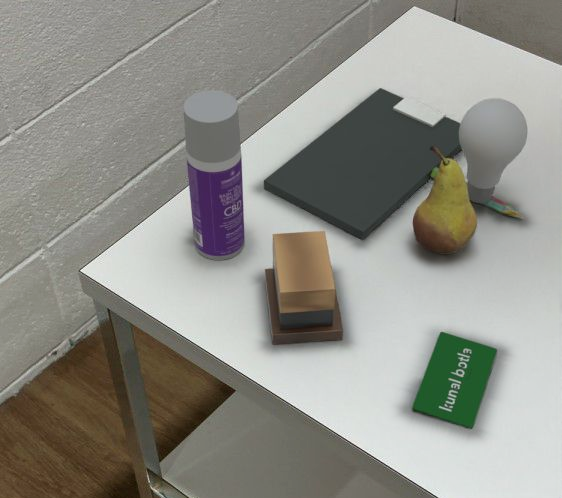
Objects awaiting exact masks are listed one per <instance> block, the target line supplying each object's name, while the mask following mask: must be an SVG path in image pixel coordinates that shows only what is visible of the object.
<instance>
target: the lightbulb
mask: <svg viewBox="0 0 562 498" xmlns="http://www.w3.org/2000/svg"><path fill="white" fill-rule="evenodd" d="M459 123H460V128H459V142H460V145H461V148H462V149H461V151H462V153H463V155H464V157H465V160H466V163H467V164H466V167H467V168H466V169H467V170H466V179H467V183H468V185H467V190H468V196H469V201H470V202H473V203H476V204H482V203H486V202H488V201H490V200H491V198H492V196H494V193H495V191H496V187H497V185H498V184H499V183H500V181H501V177H502V174H503V173H504V171H505V169H506V168H507V166H509V164H511V163H512V162H513V161H514V160H515V159H516V158H517V157H518V156H519V155H520V154H521V153H522V151H523V149H524V147H525V145H526V144H527V140H528V131H529V128H528V124H527V120H526V117H525V115H524V114H523V112H522V110H521V109H520V108H519V107H518V105H516V104H515V103H513V102H511V101H509V100H507V99H503V98H499V97H493V98H486V99H482V100H480V101H479V102H476V103H475V104H473V105H472V106H471V107H469V109H468V110H467V111H466V112H465V114H464V115H463V117H462V118H461V121H460V122H459Z"/></svg>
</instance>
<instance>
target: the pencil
mask: <svg viewBox="0 0 562 498" xmlns="http://www.w3.org/2000/svg"><path fill="white" fill-rule="evenodd" d="M438 170H439V168H437V167H435V168H434V169H433V170H432V173H431V178H430V179H433V180H434V179H435V176H436V174H437V172H438ZM466 185H468V182H466ZM481 204H482V205H483V206H486V207H488V208H489V209H491V210H493V211H496V212H498V213H499V214H501V215H504V216H507V217H513V218H518V219H522V220H524V219H525V217H524V216H522V215H521V214H520V213H519V212H518V211H517V210H516V209H515V208H513V206H511V204H509V203H507V202H505V201H503V200H502V199H500V198H498V197H496V196H494V195H493V196H492V198H491V200H490V201H488V202H486V203H481Z"/></svg>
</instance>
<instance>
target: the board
mask: <svg viewBox="0 0 562 498" xmlns="http://www.w3.org/2000/svg"><path fill="white" fill-rule="evenodd" d="M404 98H405V97H402V96H400V95H398V94H395V93H393V92H391V91H388V90H386V89H384V88H382V87H379V88H378V89H377V90H375V91H374V92H373V93H371V94H370V95H369V96H368V97H367V98H365V99H364V100H363V101H362V102H361V103H359V104H358V105H356V107H354V108H353V109H352V110H350V111H349V112H348V113H346V114H345V115H344V116H343V117H341V119H339V120H338V121H337V122H335V123H334V124H333V125H331V126H330V127H329V128H328V129H326V130H324V132H323V133H321V134H320V135H319V136H318V137H316V138H315V139H313V141H311V142H310V143H309V144H307V145H306V146H305V147H303V148H302V149H301V150H300V151H299V152H298V153H296V154H295V155H293V156H292V157H291V158H290V159H289V160H288V161H286V162H285V163H283V164H282V165H281V166H280V167H279V168H277V169H276V170H275V171H273V172H272V173H271V174H270V175H269V176H267V177H266V178H265V179H264V180H263V189H264V190H266V191H268V192H270V193H272V194H274V195H276V196H277V197H279V198H282V199H284V200H286V201H287V202H289V203H291V204H293V205H294V206H297V207H299V208H301V209H303V210H304V211H307V212H309V213H311V214H312V215H314V216H316V217H318V218H320V219H322V220H324V221H325V222H328V223H329V224H331V225H333V226H335V227H337V228H339V229H341V230H343V231H345V232H347V233H349V234H351V235H353V236H355V237H356V238H358V239H360V240H362V241H364V240H365V238H367V237H368V236H369V235H370V234H371V233H373V231H374V230H376V228H378V227H380V225H381V224H382V223H383V222H384V221H386V220H387V218H388V217H390V216H391V215H392V214H393V213H394V212H395V211H396V210H397V209H399V207H401V206H402V205H403V204H404V203H405V202H406V201H407V200H408V199H409V198H410V197H411V196H413V195H414V194H415V193H416V192H417V191H418V190H419V189H421V187H422V186H423V185H425V184H426V183H427V182H428V181H429V180H430V179H432V178H431V173H432V170H433V169H434V168H435V167H437V168H439V167H440V163H441V161H442V159H441V158H440V157H439V156H438V155H437V154H436V153H435V152H434V151H431V150H430V147H431V146H434V147H436V148H437V149H438V150H439V152H440V153H441V155H442V156H443V157H444V158H445V159H446V158H449V159H453V158H454V157H455V156H456V155H457V154H458V153H459V152H460V151H462V148H461V145H460V142H459V128H460V123H461V122H459V121H457V120H454V119H452V118H450V117H447V116H445V117H444V118H443V119H442V120H441V121H440V122H439V123H437V124H436V125H435V126H434V127H431V126H428V125H426V124H424V123H422V122H419V121H417V120H415V119H413V118H411V117H408V116H406V115H404V114H402V113H399V112H397V111H395V110H393V107H394V106H395V105H397V104H398V103H399V102H400V101H402V100H403V99H404Z"/></svg>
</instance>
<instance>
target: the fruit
mask: <svg viewBox="0 0 562 498" xmlns="http://www.w3.org/2000/svg"><path fill="white" fill-rule="evenodd" d="M430 150H431V151H434V152H435V153H436V154H437V155H438V156H439V157H440V158H441V159H442V161H441V163H440V167H439V170H438V172H437V174H436V176H435V179H433V183H432V186H431V188H430V190H429V193H428V195H427V197H426V198H424V200H422V202H421V203H420V204H419V205H418V207H416V209H415V211H414V214H413V217H412V229H413V235H414V237H415V240H416V241H417V243H418V244H419V245H420V246H421V247H423V248H424V249H426V250H428V251H429V252H431V253H435V254H440V255H450V254H453V253H457V252H458V251H460V250H461V249H463V248H464V247H465V246H466V245H467V244H468V243H469V242H470V241H471V240H472V238H473V237H474V235H475V233H476V232H477V231H476V230H477V227H478V220H477V214H476V211H475V209H474V207H473V205H472V203H471V200H470V199H469V196H468V190H467V185H466V183H467V181H466V177H465V174H464V171H463V169H462V167H461V165H460V164H459V163H458V162H457V161H456V160H454V159H453V158H451V159H449V158H446V159H445V158H444V157H443V156H442V155H441V153H440V152H439V150H438V149H437V148H436V147H434V146H431V147H430Z"/></svg>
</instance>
